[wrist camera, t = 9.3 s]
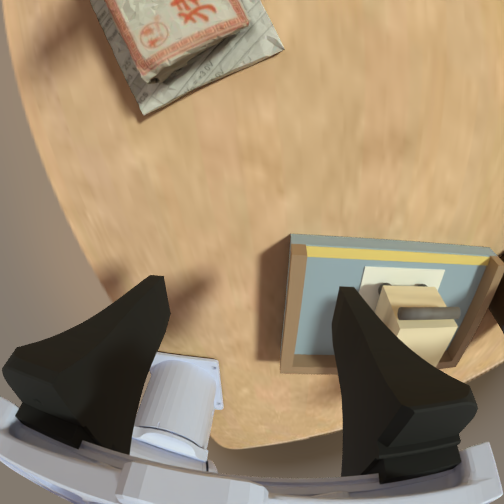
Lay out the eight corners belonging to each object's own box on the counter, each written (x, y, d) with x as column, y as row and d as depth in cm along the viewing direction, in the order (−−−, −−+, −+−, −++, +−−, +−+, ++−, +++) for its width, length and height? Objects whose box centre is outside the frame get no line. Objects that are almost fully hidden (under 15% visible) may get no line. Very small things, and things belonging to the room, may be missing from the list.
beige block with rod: (404, 341, 25) (420, 391, 20) (358, 342, 25) (369, 395, 20) (433, 267, 21) (463, 314, 16) (381, 264, 21) (405, 316, 16)
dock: (446, 346, 27) (455, 366, 24) (280, 348, 28) (279, 373, 26) (489, 247, 21) (506, 265, 18) (290, 233, 22) (291, 254, 20)
